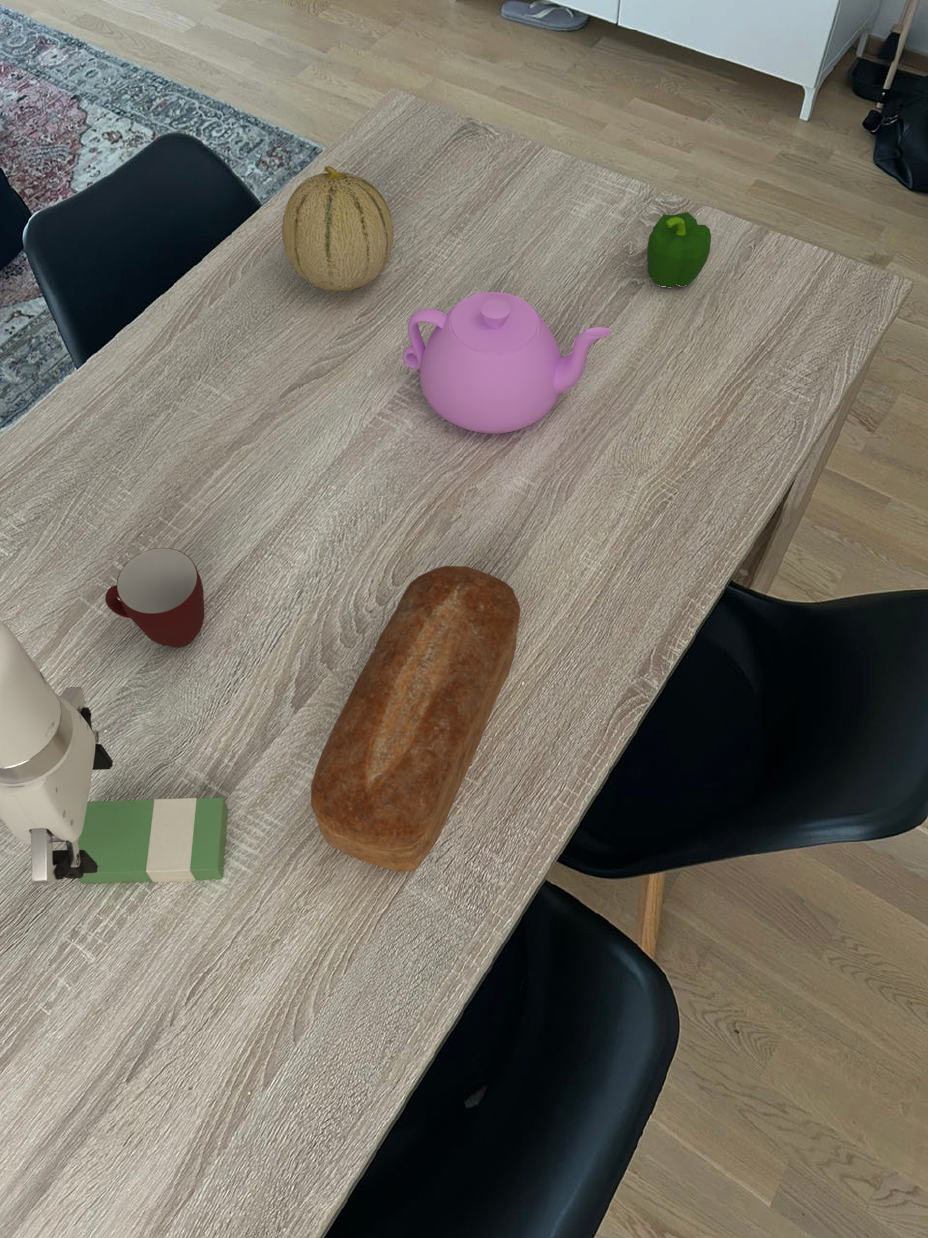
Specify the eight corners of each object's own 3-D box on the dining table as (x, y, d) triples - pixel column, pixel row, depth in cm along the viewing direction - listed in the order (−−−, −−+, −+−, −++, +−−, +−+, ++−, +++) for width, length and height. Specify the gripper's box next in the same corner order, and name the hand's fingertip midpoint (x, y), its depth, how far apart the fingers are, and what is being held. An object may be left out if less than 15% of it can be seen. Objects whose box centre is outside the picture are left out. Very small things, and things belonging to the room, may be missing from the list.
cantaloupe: (321, 329, 137) (309, 233, 124) (269, 265, 143) (252, 168, 130) (417, 288, 141) (414, 192, 128) (362, 228, 148) (355, 130, 135)
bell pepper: (692, 254, 146) (707, 192, 137) (707, 294, 142) (724, 232, 133) (633, 258, 145) (645, 196, 137) (647, 299, 141) (660, 237, 132)
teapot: (384, 425, 128) (379, 341, 117) (420, 327, 137) (419, 240, 126) (584, 463, 126) (599, 382, 114) (607, 361, 135) (623, 275, 123)
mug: (111, 664, 110) (83, 614, 101) (124, 600, 114) (98, 546, 106) (211, 664, 110) (192, 614, 102) (220, 600, 114) (203, 547, 106)
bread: (301, 850, 100) (283, 796, 88) (425, 599, 115) (423, 525, 103) (418, 896, 97) (415, 848, 86) (529, 635, 113) (539, 564, 101)
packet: (82, 884, 97) (72, 874, 95) (92, 812, 101) (84, 800, 98) (222, 880, 98) (217, 869, 95) (228, 809, 102) (223, 796, 99)
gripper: (-11, 635, 82) (61, 730, 97) (-59, 846, 73) (28, 916, 87) (85, 631, 82) (142, 727, 97) (49, 841, 73) (118, 912, 88)
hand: (88, 816), depth 92 cm, fingers open, 9 cm apart
